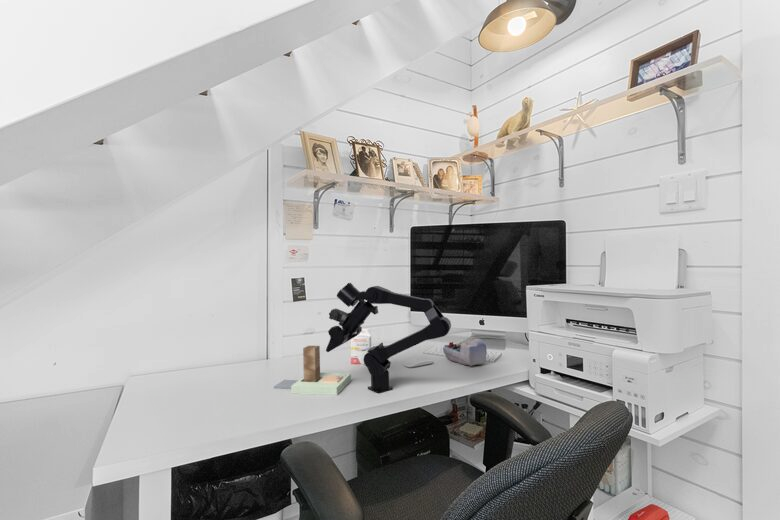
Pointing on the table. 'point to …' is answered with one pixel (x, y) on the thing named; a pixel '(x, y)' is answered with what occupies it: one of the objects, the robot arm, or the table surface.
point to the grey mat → (285, 384)
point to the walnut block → (311, 363)
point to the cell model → (466, 352)
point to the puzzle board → (322, 384)
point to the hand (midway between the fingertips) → (332, 348)
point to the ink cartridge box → (360, 346)
